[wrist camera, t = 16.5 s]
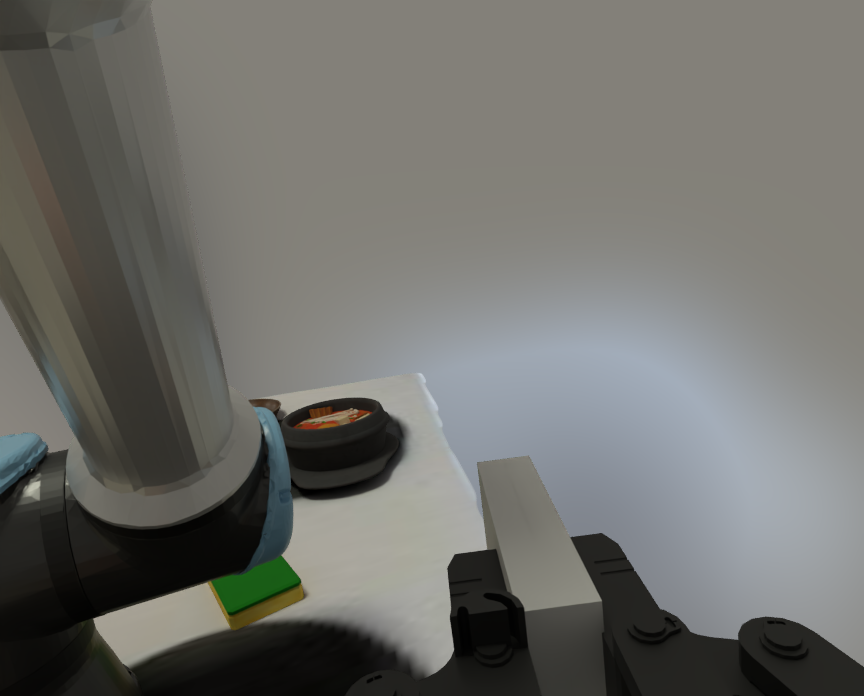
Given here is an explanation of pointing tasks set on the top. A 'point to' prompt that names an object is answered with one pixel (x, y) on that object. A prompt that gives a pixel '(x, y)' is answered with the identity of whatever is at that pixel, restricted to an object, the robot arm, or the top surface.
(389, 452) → the casserole
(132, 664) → the top surface
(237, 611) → the dish sponge
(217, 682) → the top surface
